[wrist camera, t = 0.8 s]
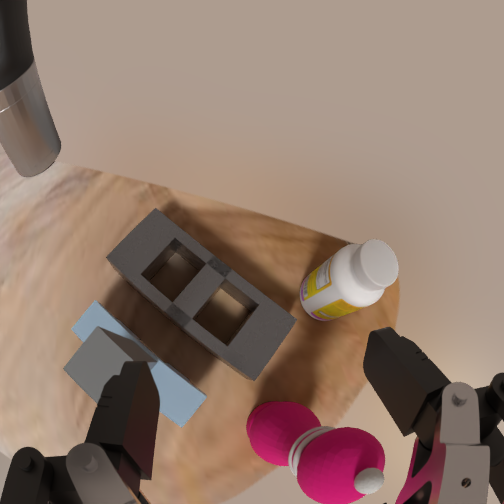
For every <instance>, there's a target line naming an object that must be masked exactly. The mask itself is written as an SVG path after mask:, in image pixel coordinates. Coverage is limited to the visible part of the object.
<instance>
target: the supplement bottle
mask: <svg viewBox="0 0 504 504" xmlns="http://www.w3.org/2000/svg"><path fill="white" fill-rule="evenodd" d="M398 269H399V267H398V261H397V258H396V256H395V253H394V252H393V250H392V249H391V248H390V247H389V246H388V245H387V244H386V243H385V242H383V241H381V240H377V239H371V240H368V241H367V242H365V243H364V244H362V245H361V244H350V245H347V246H345V247H343V248H341V249H340V250H339V251H338V252H336V253H335V254H334V255H333V256H331V257H330V258H329V259H328V260H326V261H325V262H324V263H323V264H321V265H320V266H319V267H318V268H316V269H315V270H314V271H312V272H311V273H310V274H309V275H308V276H307V277H306V278H305V279H304V281H303V282H302V285H301V288H300V300H301V304H302V306H303V308H304V310H305V311H306V312H307V313H308V314H309V315H310V316H311V317H313V318H315V319H317V320H321V321H329V320H333V319H336V318H338V317H341V316H344V315H346V314H349V313H351V312H354V311H357V310H359V309H362V308H364V307H367V306H369V305H371V304H373V303H375V302H376V301H377V300H378V299H379V298H380V297H381V296H382V294H383V292H384V290H385V288H386V287H388V286H390V285H391V284H393V283H394V281H395V280H396V278H397V276H398Z"/></svg>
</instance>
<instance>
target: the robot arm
mask: <svg viewBox="0 0 504 504" xmlns="http://www.w3.org/2000/svg"><path fill="white" fill-rule="evenodd" d="M0 143H1V145H2V147H3V148H4V150H5V152H6V153H7V155H8V157H9V159H10V160H11V162H12V164H13V165H14V167H15V168H16V170H17V171H18V173H19V174H20V175H21V176H24V177H31V176H35V175H37V174H39V173H41V172H42V171H44V170H45V169H47V168H48V167H49V166H50V165H51V164H52V163H53V162H54V161H55V159H56V158H57V156H58V154H59V152H60V149H61V141H60V138H59V136H58V133H57V131H56V128H55V125H54V122H53V119H52V117H51V114H50V111H49V108H48V105H47V102H46V99H45V95H44V92H43V89H42V86H41V82H40V78H39V75H38V72H37V68H36V64H35V60H34V56H33V51H32V45H31V38H30V31H29V24H28V15H27V0H0ZM363 369H364V373H365V376H366V377H367V379H368V381H369V382H370V383H371V385H372V387H373V388H374V390H375V391H376V393H377V395H378V396H379V398H380V399H381V401H382V402H383V404H384V406H385V407H386V409H387V410H388V412H389V413H390V415H391V416H392V418H393V420H394V421H395V423H396V424H397V426H398V428H399V429H400V431H401V433H402V434H403V436H404V437H405V436H407V435H409V434H411V433H413V432H415V433H416V435H417V437H416V439H415V443H414V448H413V454H412V458H411V463H410V467H409V471H408V476H407V479H406V482H405V485H404V487H403V488H402V490H401V492H400V494H399V496H398V498H397V500H396V503H395V504H486V503H487V495H488V486H489V483H490V485H491V487H492V488H493V490H494V492H495V494H496V496H497V498H498V499H499V501H500V503H501V504H504V436H503V435H502V433H501V432H500V430H499V429H498V428H497V425H498V424H499V423H500V421H501V420H503V421H504V373H499V374H497V375H495V376H494V378H493V380H492V382H491V383H490V385H489V386H486V387H482V388H477V389H473V388H472V387H471V386H469V385H468V384H466V383H462V382H455V383H451V382H450V381H449V380H448V378H447V377H446V376H445V375H444V374H443V373H442V372H441V371H440V370H439V369H438V367H437V366H436V365H435V364H434V363H433V362H432V361H431V360H430V359H428V357H427V356H426V354H425V353H424V352H422V350H421V349H420V348H419V347H418V346H417V345H416V344H415V343H414V342H413V341H411V340H409V339H407V338H405V337H403V336H402V337H400V336H399V335H398V334H397V333H396V332H395V331H394V330H393V329H392V328H391V327H386V328H382V329H378V330H374V331H371V332H370V334H369V338H368V343H367V348H366V352H365V357H364V362H363ZM100 396H101V398H99V401H98V404H97V407H96V409H95V412H94V415H93V418H92V421H91V424H90V427H89V430H88V433H87V437H86V440H85V442H84V443H82V444H79V445H77V446H75V447H73V448H72V449H71V450H70V451H69V453H68V455H66V456H55V457H44V456H43V455H42V454H41V453H40V452H39V451H38V450H37V449H35V448H32V447H24V448H21V449H20V450H18V451H17V452H16V453H15V455H14V456H13V459H12V462H11V465H10V468H9V471H8V474H7V478H6V481H5V485H4V488H3V492H2V496H1V500H0V504H151V503H150V502H149V500H148V499H147V498H146V496H145V495H144V494H143V493H142V491H141V490H140V489H139V487H140V479H144V480H151V477H152V466H153V457H154V448H155V439H156V432H157V424H158V417H159V410H160V396H159V391H158V389H157V386H156V384H155V381H154V378H153V376H152V373H151V371H150V368H149V365H148V363H147V362H146V361H125V362H124V364H123V366H122V369H121V372H120V375H113V376H112V377H111V378H110V379H109V380H108V381H107V382H106V384H105V385H104V387H103V390H102V393H101V395H100ZM48 501H49V502H48ZM384 504H387V503H384Z"/></svg>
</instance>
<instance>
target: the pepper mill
mask: <svg viewBox="0 0 504 504" xmlns="http://www.w3.org/2000/svg"><path fill="white" fill-rule="evenodd" d="M246 429H247V434H248V437H249V438H250V443H251V446H252V448H253V450H254V451H255V453H256V454H257V455H258V456H260V457H261V458H262V459H264V460H265V461H267V462H269V463H272V464H275V465H279V466H289V467H290V470H291V471H292V473H293V474H294V475H295V476H296V477H297V480H298V483H299V485H300V487H301V489H302V490H303V492H304V493H305V494H306V495H307V496H308V497H310V498H311V499H313V500H315V501H317V502H319V503H322V504H348V503H351V502H354V501H356V500H358V499H360V498H362V497H363V496H365V495H366V494H370V493H374V492H376V491H377V490H378V489H380V488H381V486H382V485H383V482H384V475H383V470H384V465H385V454H384V450H383V448H382V446H381V444H380V443H379V441H378V440H377V439H376V438H375V437H374V436H373V435H371V434H370V433H368V432H366V431H363V430H361V429H358V428H350V427H344V428H337V429H336V428H333V427H329V426H321V424H320V422H319V420H318V418H317V417H316V416H315V414H314V413H313V412H312V411H311V410H310V409H308V408H307V407H305V406H303V405H301V404H299V403H295V402H287V401H285V402H279V401H272V402H267V403H264V404H262V405H260V406H258V407H257V408H256V409H254V410H253V412H252V413H251V414H250V416H249V418H248V421H247V425H246Z"/></svg>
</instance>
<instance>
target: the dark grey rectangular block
mask: <svg viewBox="0 0 504 504" xmlns="http://www.w3.org/2000/svg"><path fill="white" fill-rule="evenodd" d="M175 252H177V253H178V254H179V255H181V256H182V257H183V258H184V259H185V260H187V261H188V262H189V263H190V264H192V265H193V266H194V267H195V268H196V269H198V270H199V271H200V272H199V273H198V274H197V275H196V276H195V277H194V278H193V280H192V281H191V282H190V283H189V284H188V285H187V286H186V288H185V289H184V290H183V291H182V292H181V293H180V295H179V296H178V297H177V298H176V299H175V300H174V301H173V302H171V301H170V300H169V299H168V298H167V297H166V296H164V295H163V294H162V293H161V292H160V291H159V290H157V289H156V288H155V287H154V286H153V285H152V284H151V283H150V282H148V281H149V280H150V279H151V278H152V277H153V276H154V275H155V274H156V273H157V271H158V270H159V269H160V268H161V267H162V266H163V265H164V264H165V263H166V262H167V261H168V260H169V258H170V257H171V256H172V255H173V254H174V253H175ZM106 258H107V259H108V261H109V262H110V264H111V265H112V266H113V268H114V269H115V270H116V271H117V272H118V273H119V274H120V275H121V276H122V277H123V278H124V279H125V280H126V281H127V282H128V283H129V284H130V285H131V286H132V287H133V288H135V289H136V290H137V291H138V292H139V293H140V294H141V295H142V296H143V297H144V298H145V299H147V300H148V301H149V302H150V303H151V304H152V305H153V306H154V307H156V308H157V309H158V310H159V311H160V312H161V313H162V314H164V315H165V316H166V317H167V318H168V319H169V320H171V321H172V322H173V323H174V324H175V325H177V326H178V327H179V328H180V329H181V330H183V331H184V332H185V333H186V334H188V335H189V336H190V337H191V338H193V339H194V340H195V341H196V342H198V343H199V344H200V345H201V346H203V347H204V348H205V349H207V350H208V351H209V352H210V353H212V354H213V355H214V356H216V357H217V358H218V359H220V360H221V361H222V362H224V363H225V364H226V365H228V366H229V367H231V368H232V369H233V370H235V371H236V372H238V373H239V374H240V375H242V376H243V377H245V378H246V379H249V380H253V381H255V380H256V378H257V377H258V376H259V374H260V373H261V371H262V370H263V369H264V367H265V366H266V364H267V363H268V362H269V360H270V359H271V357H272V356H273V355H274V353H275V352H276V350H277V349H278V347H279V346H280V344H281V343H282V342H283V340H284V339H285V337H286V336H287V334H288V333H289V331H290V330H291V328H292V327H293V325H294V324H295V322H296V321H297V319H296V318H295V317H293V316H292V315H291V314H289V313H288V312H287V311H285V310H284V309H283V308H281V307H280V306H279V305H277V304H276V303H275V302H274V301H272V300H271V299H270V298H268V297H267V296H266V295H264V294H263V293H262V292H260V291H259V290H258V289H257V288H255V287H254V286H253V285H251V284H250V283H249V282H248V281H246V280H245V279H244V278H242V277H241V276H240V275H239V274H237V273H236V272H235V271H233V270H232V269H231V268H230V267H228V266H227V265H226V264H225V263H223V262H222V261H221V260H220V259H218V258H217V257H216V256H214V255H213V254H212V253H211V252H209V251H208V250H207V249H206V248H204V247H203V246H202V245H201V244H199V243H198V242H197V241H196V240H194V239H193V238H192V237H191V236H190V235H188V234H187V233H186V232H185V231H183V230H182V229H181V228H180V227H178V226H177V225H176V224H175V223H174V222H172V221H171V220H170V219H169V218H167V217H166V216H165V215H164V214H163V213H161V212H160V211H159V210H158V209H156V208H155V209H154V210H153V211H152V212H151V213H150V214H149V215H148V216H147V217H146V218H145V219H143V220H142V221H141V222H140V223H139V224H138V225H137V226H136V227H135V228H134V229H133V230H132V231H131V232H130V233H129V234H128V235H127V236H126V237H125V238H124V239H123V240H122V241H121V242H120V243H119V244H118V245H117V246H116V247H115V248H114V249H113V251H112V252H111V253H110V254H109V255H108V256H107V257H106ZM220 288H221V289H223V290H224V291H225V292H226V293H228V294H229V295H230V296H231V297H233V298H234V299H235V300H237V301H238V302H239V303H240V304H242V305H243V306H244V307H246V308H247V309H248V310H250V311H251V312H250V313H249V315H248V316H247V317H246V319H245V320H244V321H243V323H242V324H241V325H240V327H239V328H238V329H237V331H236V332H235V333H234V335H233V336H232V337H231V338H230V340H229V341H228V342H227V344H226V345H225V344H224V343H222V342H221V341H220V340H218V339H217V338H216V337H214V336H213V335H212V334H211V333H209V332H208V331H207V330H205V329H204V328H203V327H202V326H200V325H199V324H198V323H197V322H195V321H194V320H195V319H196V317H197V316H198V315H199V314H200V313H201V311H202V310H203V309H204V308H205V306H206V305H207V304H208V303H209V302H210V300H211V299H212V298H213V297H214V296H215V294H216V293H217V292H218V291H219V289H220Z"/></svg>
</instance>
